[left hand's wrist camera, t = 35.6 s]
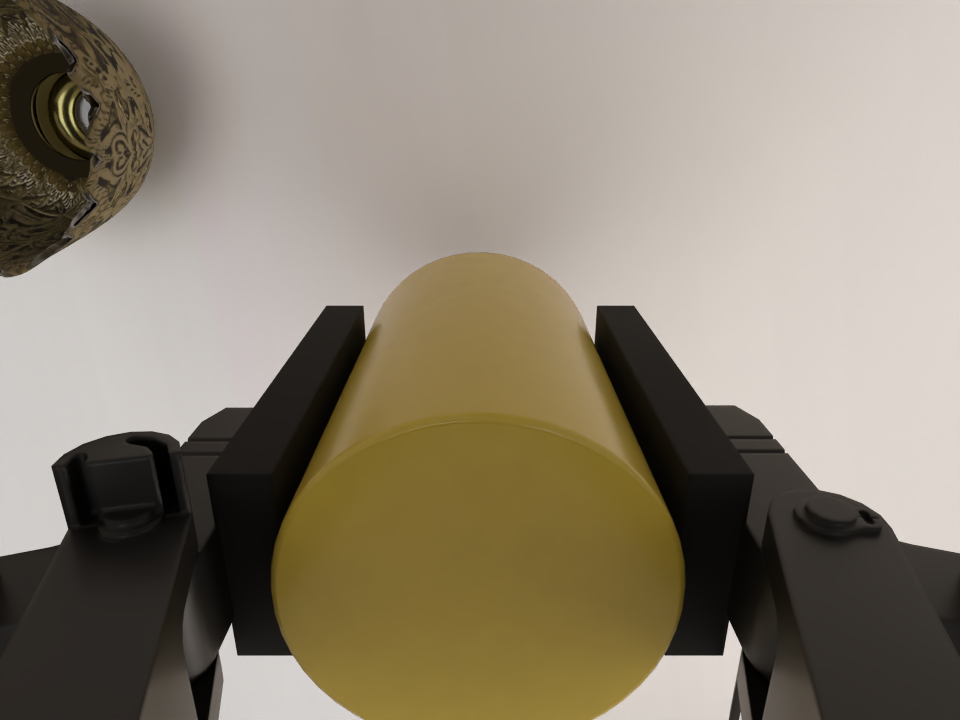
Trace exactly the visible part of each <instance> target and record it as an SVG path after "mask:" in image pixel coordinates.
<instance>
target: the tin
mask: <svg viewBox="0 0 960 720" xmlns="http://www.w3.org/2000/svg"><path fill="white" fill-rule="evenodd" d="M685 586H686V580H685V561H684V556H683V551H682V546H681V541H680V538H679V535H678V533H677V530H676V527H675V525H674V522H673V519H672V517H671V515H670V513H669V510H668V508H667V506H666V504H665V501H664V499H663V497H662V495H661V493H660V490H659V488H658V486H657V484H656V481H655V479H654V477H653V475H652V472H651V470H650V468H649V466H648V464H647V461H646V459H645V457H644V455H643V452H642V450H641V448H640V446H639V443H638V441H637V439H636V437H635V435H634V432H633V430H632V428H631V426H630V423H629V421H628V419H627V417H626V414H625V412H624V410H623V408H622V405H621V403H620V401H619V399H618V397H617V394H616V392H615V390H614V388H613V385H612V383H611V381H610V379H609V376H608V374H607V372H606V370H605V368H604V365H603V363H602V361H601V359H600V356H599V354H598V352H597V350H596V347H595V345H594V343H593V341H592V339H591V336H590V334H589V332H588V330H587V327H586V325H585V323H584V321H583V318H582V316H581V314H580V312H579V310H578V309H577V307H576V305H575V303H574V301H573V300H572V299H571V298H570V296H569V295H568V294H567V292H566V291H565V290H564V289H563V288H562V287H561V286H560V285H559V284H558V283H557V282H556V281H555V280H554V279H553V278H551V277H550V276H549V275H547V274H546V273H545V272H543V271H542V270H540V269H538V268H537V267H535V266H533V265H531V264H529V263H527V262H524V261H522V260H519V259H517V258H513V257H510V256H506V255H502V254H494V253H486V252H484V253H464V254H457V255H452V256H449V257H445V258H442V259H439V260H436V261H434V262H432V263H429V264H427V265H425V266H424V267H422V268H420V269H418V270H417V271H415V272H413V273H412V274H411V275H410V276H408V277H407V278H406V279H405V280H403V281H402V282H401V283H400V284H399V285H398V286H397V287H396V288H395V289H394V290H393V291H392V293H391V294H390V295H389V297H388V298H387V300H386V301H385V302H384V304H383V306H382V308H381V309H380V311H379V313H378V315H377V317H376V319H375V322H374V324H373V326H372V328H371V330H370V332H369V335H368V337H367V339H366V341H365V343H364V345H363V348H362V350H361V352H360V354H359V356H358V358H357V361H356V363H355V365H354V367H353V369H352V372H351V374H350V376H349V378H348V380H347V382H346V385H345V387H344V389H343V391H342V393H341V395H340V398H339V400H338V402H337V404H336V406H335V408H334V411H333V413H332V415H331V417H330V419H329V421H328V424H327V426H326V428H325V430H324V432H323V435H322V437H321V439H320V441H319V443H318V445H317V448H316V450H315V452H314V454H313V456H312V458H311V461H310V463H309V465H308V467H307V469H306V471H305V474H304V476H303V478H302V480H301V482H300V484H299V487H298V489H297V491H296V493H295V495H294V498H293V500H292V502H291V504H290V506H289V508H288V511H287V513H286V515H285V517H284V519H283V521H282V524H281V527H280V530H279V533H278V536H277V538H276V541H275V545H274V551H273V557H272V562H271V592H272V598H273V605H274V611H275V615H276V618H277V621H278V624H279V627H280V630H281V633H282V635H283V637H284V639H285V641H286V643H287V645H288V647H289V649H290V651H291V653H292V655H293V656H294V658H295V659H296V660H297V662H298V663H299V665H300V666H301V668H302V669H303V671H304V672H305V673H306V674H307V675H308V676H309V677H310V678H311V679H312V681H313V682H314V683H315V684H316V685H317V686H318V687H319V688H320V689H321V690H322V691H324V692H325V693H326V694H327V695H328V696H329V697H330V698H332V699H333V700H334V701H335V702H336V703H338V704H339V705H341V706H342V707H344V708H345V709H347V710H348V711H350V712H351V713H353V714H354V715H356V716H358V717H360V718H362V719H364V720H593V719H595V718H597V717H599V716H600V715H602V714H604V713H606V712H607V711H609V710H610V709H611V708H613V707H614V706H616V705H617V704H619V703H620V702H621V701H623V700H624V699H625V698H626V697H627V696H629V695H630V694H631V693H632V692H633V691H634V690H635V689H636V688H638V687H639V686H640V685H641V684H642V683H643V681H644V680H645V679H646V678H647V677H648V676H649V675H650V673H651V672H652V671H653V670H654V669H655V667H656V666H657V664H658V663H659V661H660V660H661V658H662V657H663V655H664V654H665V652H666V651H667V649H668V647H669V644H670V642H671V640H672V638H673V636H674V634H675V632H676V629H677V626H678V622H679V619H680V615H681V612H682V608H683V601H684V593H685Z"/></svg>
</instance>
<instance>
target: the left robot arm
mask: <svg viewBox="0 0 960 720" xmlns="http://www.w3.org/2000/svg"><path fill="white" fill-rule="evenodd" d="M365 341H366V338H365V324H364V309H363V306H326V307H325V309H324V310H323V311H322V313H321V314H320V316H319V317H318V318H317V320H316V321H315V323H314V324H313V325H312V327H311V328H310V330H309V331H308V332H307V334H306V335H305V337H304V338H303V339H302V341H301V342H300V344H299V345H298V346H297V348H296V349H295V351H294V352H293V353H292V355H291V356H290V358H289V359H288V360H287V362H286V363H285V365H284V366H283V367H282V369H281V370H280V372H279V373H278V374H277V376H276V377H275V379H274V380H273V381H272V383H271V384H270V386H269V387H268V388H267V390H266V391H265V393H264V394H263V395H262V397H261V398H260V400H259V401H258V402H257V404H256V405H255V407H254V408H225V409H223V410H222V411H220V412H218V413H216V414H215V415H213V416H211V417H209V418H208V419H206V420H204V421H203V422H201V424H200V425H199V426H198V427H197V428H196V430H195V431H194V432H193V433H192V434H191V435H190V437H189V438H188V442H185V443H184V444H183V445H182V446H181V447H180V443H179V441H177V440H176V439H174V438H173V437H172V436H170V435H168V434H163V433H158V432H153V431H149V432H127V433H122V434H116V435H111V436H106V437H103V438H100V439H97V440H94V441H91V442H88V443H85V444H82V445H80V446H79V447H77V448H75V449H73V450H71V451H69V452H67V453H66V454H64V455H63V456H62V457H61V458H59V459H58V460H57V461H56V462H55V463H54V464H53V465H52V466H51V467H52V471H53V474H54V478H55V482H56V485H57V489H58V493H59V496H60V500H61V504H62V507H63V511H64V515H65V518H66V522H67V526H68V531H67V533H66V535H65V537H64V539H63V540H62V542H61V544H60V545H57V546H53V547H49V548H44V549H38V550H33V551H28V552H22V553H17V554H12V555H7V556H1V557H0V720H218V718H219V711H220V703H221V695H222V688H223V674H222V667H221V662H220V656H219V649H220V647H221V644H222V642H223V640H224V638H225V636H226V634H227V632H228V629H229V627H230V625H231V623H232V626H233V632H234V638H235V644H236V649H237V655H292V653H291V651H290V649H289V647H288V645H287V643H286V641H285V639H284V637H283V635H282V633H281V630H280V627H279V624H278V621H277V618H276V615H275V611H274V605H273V598H272V592H271V562H272V557H273V551H274V545H275V541H276V538H277V536H278V533H279V530H280V527H281V524H282V521H283V519H284V517H285V515H286V513H287V511H288V508H289V506H290V504H291V502H292V500H293V498H294V495H295V493H296V491H297V489H298V487H299V484H300V482H301V480H302V478H303V476H304V474H305V471H306V469H307V467H308V465H309V463H310V461H311V458H312V456H313V454H314V452H315V450H316V448H317V445H318V443H319V441H320V439H321V437H322V435H323V432H324V430H325V428H326V426H327V424H328V421H329V419H330V417H331V415H332V413H333V411H334V408H335V406H336V404H337V402H338V400H339V398H340V395H341V393H342V391H343V389H344V387H345V385H346V382H347V380H348V378H349V376H350V374H351V372H352V369H353V367H354V365H355V363H356V361H357V358H358V356H359V354H360V352H361V350H362V348H363V345H364V343H365ZM595 347H596V350H597V352H598V354H599V356H600V359H601V361H602V363H603V365H604V368H605V370H606V372H607V374H608V376H609V379H610V381H611V383H612V385H613V388H614V390H615V392H616V394H617V397H618V399H619V401H620V403H621V405H622V408H623V410H624V412H625V414H626V417H627V419H628V421H629V423H630V426H631V428H632V430H633V432H634V435H635V437H636V439H637V441H638V443H639V446H640V448H641V450H642V452H643V455H644V457H645V459H646V461H647V464H648V466H649V468H650V470H651V472H652V475H653V477H654V479H655V481H656V484H657V486H658V488H659V490H660V493H661V495H662V497H663V499H664V501H665V504H666V506H667V508H668V510H669V513H670V515H671V517H672V519H673V522H674V525H675V527H676V530H677V533H678V535H679V538H680V541H681V546H682V551H683V556H684V561H685V580H686V586H685V593H684V601H683V608H682V612H681V615H680V619H679V622H678V626H677V629H676V632H675V634H674V636H673V638H672V640H671V642H670V644H669V647H668V649H667V651H666V652H665V654H664V655H723V652H724V646H725V641H726V635H727V629H728V624H729V621H730V623H731V625H732V627H733V629H734V631H735V633H736V636H737V638H738V640H739V642H740V644H741V646H742V651H741V656H740V662H739V667H738V672H737V678H736V683H735V688H734V693H733V699H732V704H731V709H730V716H729V720H739V716H740V712H741V717H742V720H960V553H955V552H949V551H944V550H939V549H933V548H928V547H923V546H917V545H912V544H908V543H904V542H900V541H898V539H897V537H896V535H895V534H894V532H893V530H892V528H891V527H890V526H889V525H888V523H887V522H886V521H885V520H884V519H883V518H882V516H881V515H879V514H878V513H876V512H875V511H873V510H872V509H870V508H868V507H867V506H865V505H864V504H862V503H860V502H857V501H855V500H852V499H850V498H847V497H845V496H842V495H839V494H835V493H830V492H825V491H820V490H818V489H817V487H816V486H815V485H814V484H813V483H812V481H811V480H810V479H809V478H808V477H807V476H806V474H805V473H804V472H803V471H802V470H801V468H800V467H799V466H798V465H797V464H796V463H795V461H794V460H793V459H792V458H791V457H790V456H789V454H788V453H785V450H784V448H783V447H782V446H781V445H780V444H779V443H778V441H777V440H776V439H773V435H772V434H771V433H770V432H769V431H768V430H767V428H766V427H765V426H764V425H763V424H762V423H761V421H760V420H759V419H757V418H755V417H754V416H752V415H750V414H748V413H747V412H745V411H743V410H742V409H740V408H738V407H736V406H732V405H705V404H704V403H703V402H702V400H701V399H700V397H699V396H698V395H697V393H696V392H695V390H694V389H693V388H692V386H691V385H690V383H689V382H688V381H687V379H686V378H685V376H684V375H683V374H682V372H681V371H680V369H679V368H678V367H677V365H676V364H675V362H674V361H673V360H672V358H671V357H670V355H669V354H668V353H667V351H666V350H665V348H664V347H663V346H662V344H661V343H660V341H659V340H658V339H657V337H656V336H655V334H654V333H653V332H652V330H651V329H650V327H649V326H648V325H647V323H646V322H645V321H644V319H643V318H642V316H641V315H640V314H639V312H638V311H637V309H636V308H635V307H634V306H597V316H596V331H595Z"/></svg>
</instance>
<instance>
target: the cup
mask: <svg viewBox="0 0 960 720" xmlns="http://www.w3.org/2000/svg"><path fill="white" fill-rule="evenodd" d="M82 94H83V96H84V98H85V99H86V101H87V102H89V103H90V105H91V108H90V110H89V112H88V119H89V126H88V129H87V132H86V133H85V132H84V131H83V130H82V129H81V127H80V125H79V123H78V121H77V118H76V104H77V101H78V99H79V98H80V96H81V95H82ZM153 150H154V122H153V115H152V110H151V106H150V102H149V100H148V97H147V94H146V91H145V89H144V87H143V85H142V83H141V80H140V78H139V76H138V75H137V73H136V71H135V70H134V68H133V66H132V65H131V63H130V62H129V60H128V59H127V58H126V56H125V55H124V53H123V52H122V51H121V50H120V49H119V48H118V47H117V45H116V44H115V43H114V42H113V41H112V40H111V39H110V38H109V37H108V36H107V35H106V34H105V33H103V32H102V31H101V30H100V29H99V28H98V27H96V26H95V25H94V24H93V23H91V22H90V21H89V20H88V19H86V18H85V17H83V16H82V15H80V14H79V13H77V12H76V11H74V10H73V9H71V8H69V7H68V6H66V5H65V4H63V3H61V2H59V1H57V0H0V276H3V277H13V276H17V275H21V274H23V273H25V272H27V271H29V270H31V269H32V268H34V267H35V266H37V265H38V264H40V263H41V262H43V261H44V260H46V259H47V258H49V257H50V256H52V255H54V254H55V253H57V252H59V251H61V250H62V249H64V248H66V247H67V246H69V245H71V244H73V243H74V242H76V241H78V240H79V239H81V238H82V237H84V236H86V235H87V234H89V233H90V232H92V231H94V230H95V229H97V228H98V227H99V226H101V225H102V224H104V223H105V222H107V221H108V220H110V219H111V218H112V217H113V216H115V215H116V214H117V213H118V212H119V211H120V210H121V209H122V208H124V207H125V206H126V205H127V204H128V202H129V201H130V200H131V199H132V198H133V197H134V195H135V194H136V193H137V191H138V190H139V188H140V187H141V185H142V183H143V182H144V180H145V177H146V175H147V173H148V170H149V167H150V164H151V160H152V155H153Z"/></svg>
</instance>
